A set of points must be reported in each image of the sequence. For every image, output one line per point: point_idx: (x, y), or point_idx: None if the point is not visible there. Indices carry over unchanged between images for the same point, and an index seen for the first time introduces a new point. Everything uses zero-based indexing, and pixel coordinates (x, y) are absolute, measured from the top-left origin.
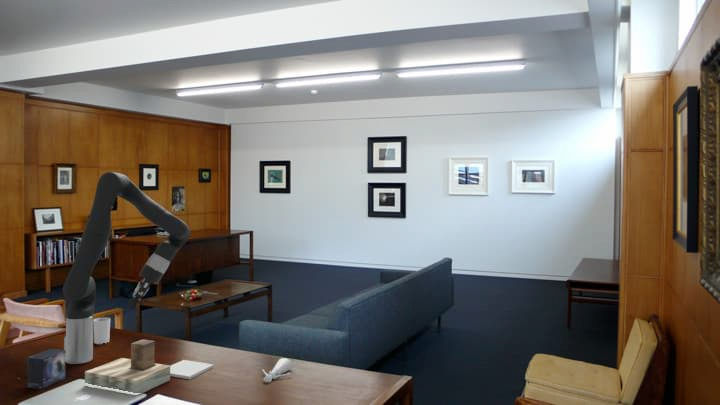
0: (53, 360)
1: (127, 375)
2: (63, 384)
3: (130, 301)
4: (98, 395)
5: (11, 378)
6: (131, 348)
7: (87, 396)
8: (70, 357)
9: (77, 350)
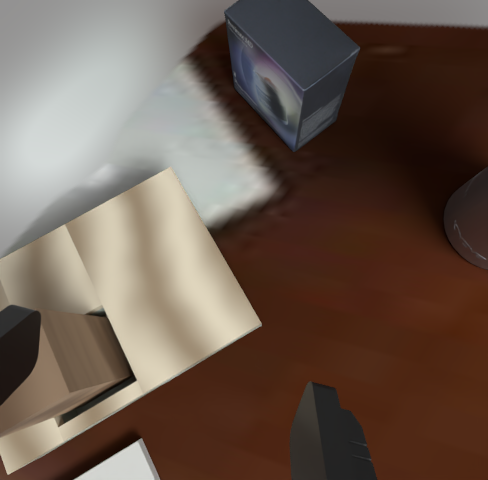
0: (255, 61)
1: (22, 280)
2: (243, 141)
3: (314, 432)
4: (76, 205)
5: (394, 33)
6: (48, 311)
7: (91, 178)
8: (470, 179)
9: (473, 188)
